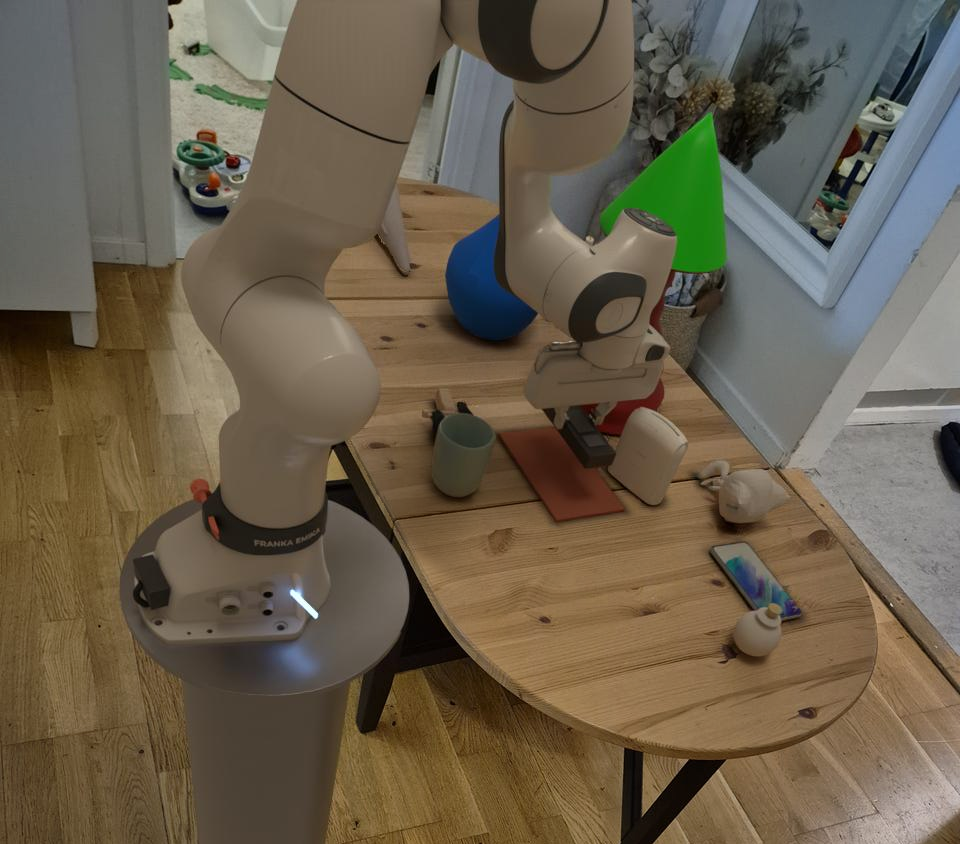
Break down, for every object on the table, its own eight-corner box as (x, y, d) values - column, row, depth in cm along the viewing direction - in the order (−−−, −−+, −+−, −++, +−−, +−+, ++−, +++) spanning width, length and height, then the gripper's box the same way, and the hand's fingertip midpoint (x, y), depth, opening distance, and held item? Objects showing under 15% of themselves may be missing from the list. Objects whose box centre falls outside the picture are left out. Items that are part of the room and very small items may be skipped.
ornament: (718, 632, 112) (751, 581, 104) (763, 627, 114) (799, 578, 107) (737, 667, 108) (774, 618, 101) (784, 662, 111) (823, 614, 103)
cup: (491, 491, 120) (507, 436, 113) (455, 512, 116) (469, 456, 108) (452, 462, 123) (466, 406, 115) (416, 481, 118) (427, 424, 111)
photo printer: (601, 470, 129) (629, 403, 120) (619, 462, 132) (647, 396, 122) (649, 509, 125) (681, 444, 116) (666, 500, 128) (699, 436, 119)
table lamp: (678, 420, 143) (811, 140, 109) (600, 449, 133) (720, 150, 99) (601, 358, 151) (703, 78, 117) (522, 381, 140) (609, 81, 107)
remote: (611, 465, 118) (617, 451, 116) (584, 469, 116) (590, 455, 114) (563, 401, 126) (568, 388, 124) (538, 404, 124) (542, 390, 122)
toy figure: (408, 405, 130) (441, 464, 121) (418, 370, 125) (453, 427, 117) (448, 408, 133) (484, 464, 124) (459, 373, 129) (497, 429, 120)
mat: (556, 522, 119) (556, 519, 119) (498, 435, 129) (498, 432, 129) (623, 511, 124) (624, 508, 124) (562, 428, 134) (563, 425, 134)
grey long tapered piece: (448, 254, 154) (401, 173, 165) (406, 254, 150) (360, 171, 161) (438, 291, 160) (393, 210, 171) (397, 291, 157) (354, 208, 167)
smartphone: (746, 540, 124) (805, 613, 116) (743, 544, 125) (801, 617, 117) (708, 545, 121) (766, 621, 113) (706, 549, 122) (763, 625, 114)
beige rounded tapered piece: (673, 506, 134) (734, 533, 122) (679, 456, 131) (743, 478, 118) (720, 501, 138) (785, 526, 126) (727, 451, 134) (795, 472, 122)
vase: (532, 308, 157) (579, 139, 135) (539, 362, 145) (592, 187, 123) (437, 290, 154) (469, 114, 131) (437, 344, 142) (472, 160, 120)
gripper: (552, 357, 104) (525, 445, 114) (680, 348, 112) (644, 431, 122) (530, 329, 107) (505, 417, 117) (656, 322, 115) (623, 405, 126)
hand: (577, 424), depth 120 cm, fingers closed on remote, 4 cm apart
